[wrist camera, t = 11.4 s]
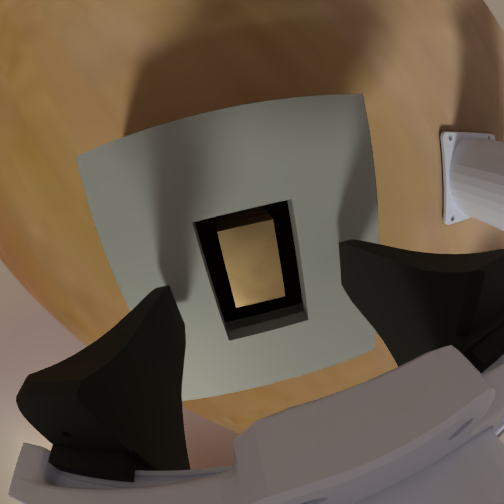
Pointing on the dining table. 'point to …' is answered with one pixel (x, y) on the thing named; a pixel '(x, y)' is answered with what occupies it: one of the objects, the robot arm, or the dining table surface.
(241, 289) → the tan rectangular block
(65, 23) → the dining table surface
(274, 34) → the dining table surface
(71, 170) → the dining table surface
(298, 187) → the box
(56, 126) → the dining table surface
